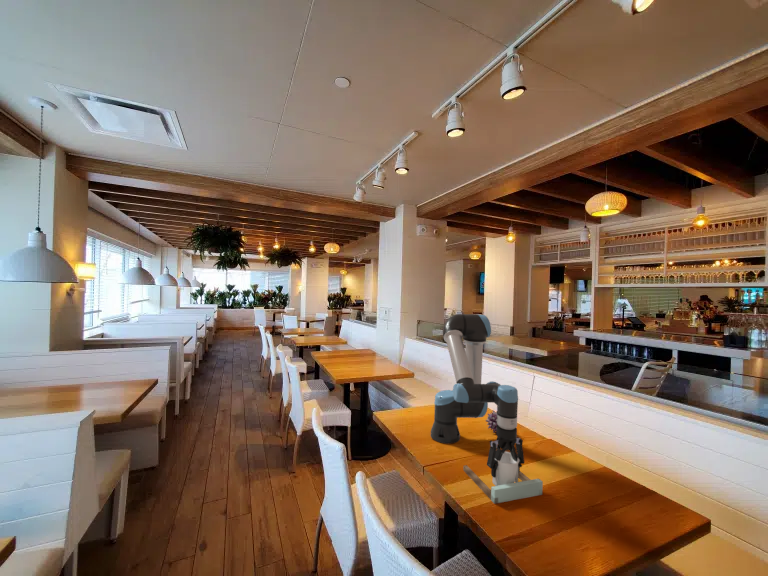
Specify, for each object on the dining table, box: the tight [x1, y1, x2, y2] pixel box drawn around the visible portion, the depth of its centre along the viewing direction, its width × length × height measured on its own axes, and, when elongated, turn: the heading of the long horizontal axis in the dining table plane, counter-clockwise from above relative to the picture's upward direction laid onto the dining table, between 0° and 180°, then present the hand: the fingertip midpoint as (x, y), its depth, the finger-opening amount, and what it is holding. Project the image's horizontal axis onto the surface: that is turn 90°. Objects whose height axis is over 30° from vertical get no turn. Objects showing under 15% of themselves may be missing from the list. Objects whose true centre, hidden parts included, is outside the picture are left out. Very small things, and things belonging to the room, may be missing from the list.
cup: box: [495, 451, 519, 485], centre depth 128 cm, size 10×10×11 cm
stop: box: [490, 478, 544, 504], centre depth 122 cm, size 2×21×5 cm, turn 106°
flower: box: [485, 410, 498, 434], centre depth 176 cm, size 12×12×12 cm
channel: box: [462, 464, 543, 504], centre depth 131 cm, size 22×21×2 cm
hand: (505, 482), depth 128 cm, fingers closed on cup, 8 cm apart
